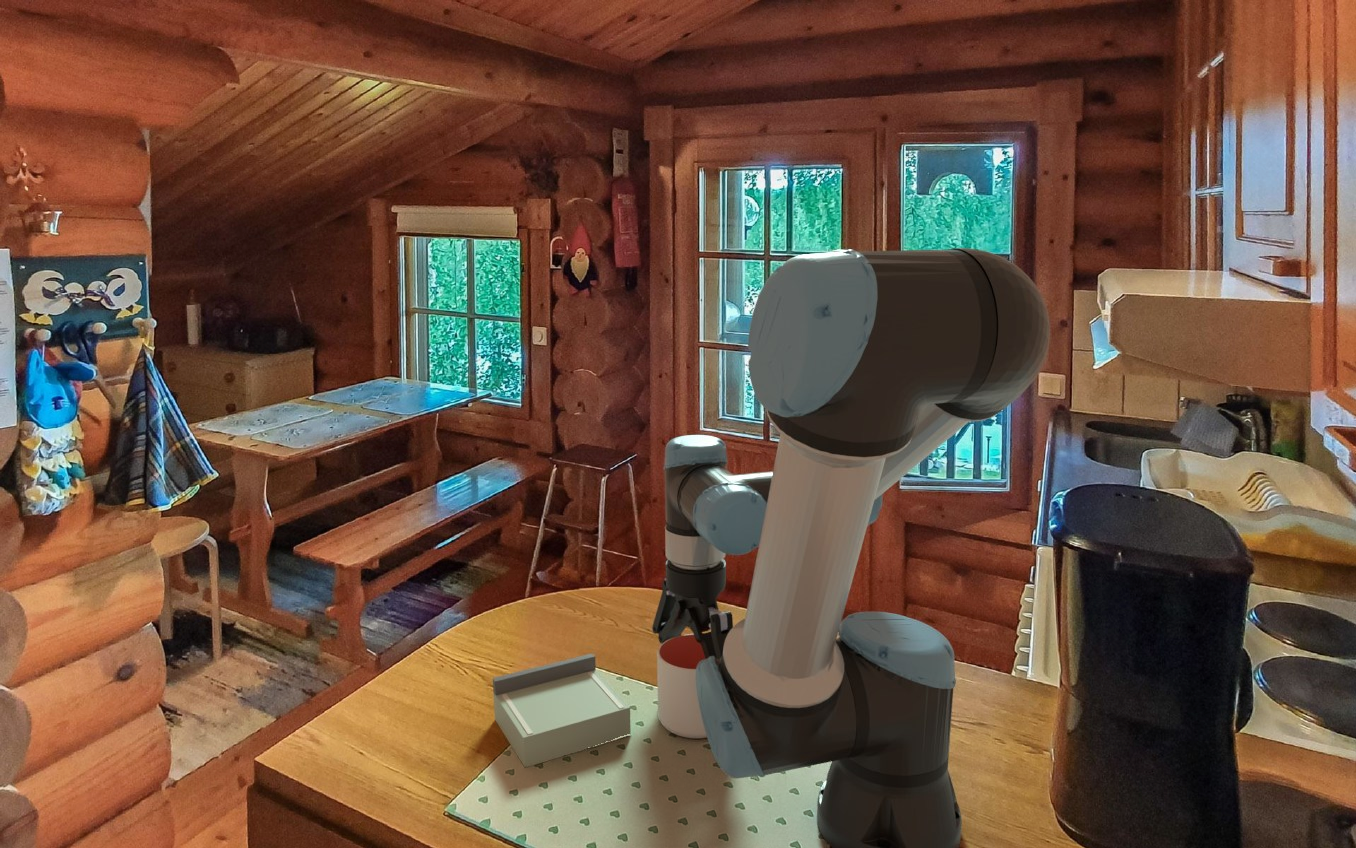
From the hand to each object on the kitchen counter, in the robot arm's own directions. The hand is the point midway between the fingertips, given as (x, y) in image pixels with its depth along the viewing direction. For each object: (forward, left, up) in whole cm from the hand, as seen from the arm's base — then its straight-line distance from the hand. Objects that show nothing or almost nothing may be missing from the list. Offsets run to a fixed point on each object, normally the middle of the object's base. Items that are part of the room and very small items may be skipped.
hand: (696, 712), depth 118 cm
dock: (+7, +16, -1) cm, 18 cm away
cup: (0, 0, -2) cm, 2 cm away
